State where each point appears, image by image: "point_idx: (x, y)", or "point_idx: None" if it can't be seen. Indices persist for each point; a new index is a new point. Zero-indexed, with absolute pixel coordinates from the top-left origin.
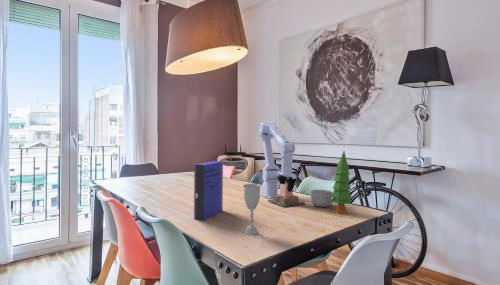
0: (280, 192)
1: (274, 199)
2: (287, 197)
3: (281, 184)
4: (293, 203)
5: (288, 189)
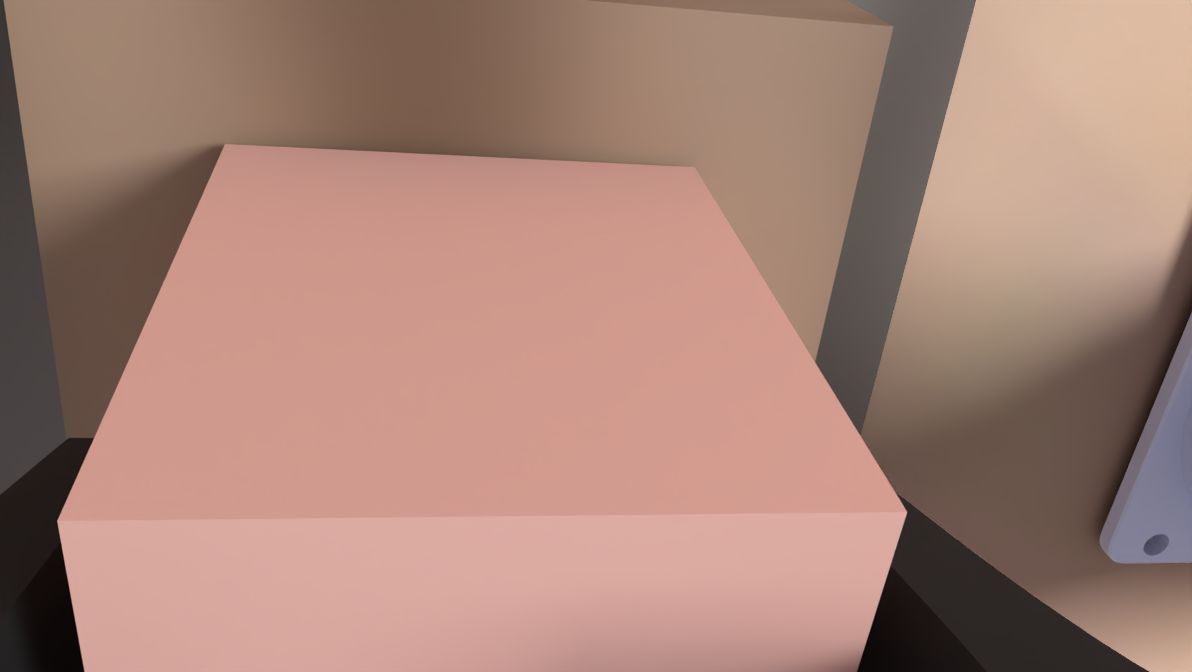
0: (644, 221)
1: (912, 76)
2: (110, 195)
3: (683, 513)
4: (25, 277)
5: (29, 489)
